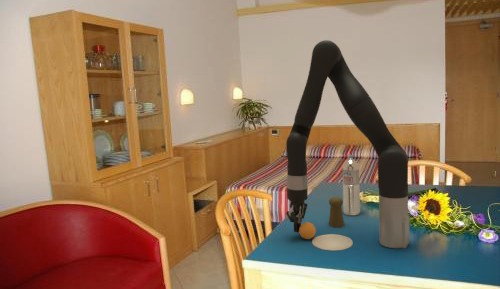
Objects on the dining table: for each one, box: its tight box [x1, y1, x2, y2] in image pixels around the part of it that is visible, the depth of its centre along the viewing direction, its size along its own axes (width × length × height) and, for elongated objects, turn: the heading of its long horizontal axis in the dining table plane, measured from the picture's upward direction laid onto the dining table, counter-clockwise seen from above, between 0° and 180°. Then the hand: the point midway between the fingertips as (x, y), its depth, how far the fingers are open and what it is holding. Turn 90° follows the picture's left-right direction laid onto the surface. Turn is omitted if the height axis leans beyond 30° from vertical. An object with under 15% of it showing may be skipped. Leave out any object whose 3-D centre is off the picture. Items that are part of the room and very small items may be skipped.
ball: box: [299, 221, 317, 240], centre depth 146 cm, size 6×6×6 cm
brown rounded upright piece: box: [328, 196, 345, 228], centre depth 158 cm, size 6×6×11 cm
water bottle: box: [341, 154, 361, 217], centre depth 168 cm, size 7×7×25 cm
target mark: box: [311, 233, 354, 252], centre depth 142 cm, size 14×14×1 cm
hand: (297, 231), depth 148 cm, fingers closed
